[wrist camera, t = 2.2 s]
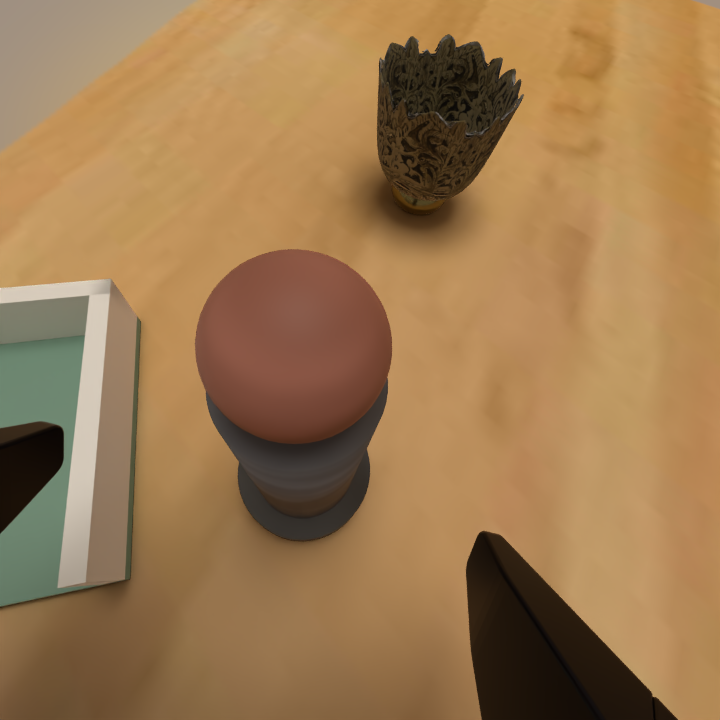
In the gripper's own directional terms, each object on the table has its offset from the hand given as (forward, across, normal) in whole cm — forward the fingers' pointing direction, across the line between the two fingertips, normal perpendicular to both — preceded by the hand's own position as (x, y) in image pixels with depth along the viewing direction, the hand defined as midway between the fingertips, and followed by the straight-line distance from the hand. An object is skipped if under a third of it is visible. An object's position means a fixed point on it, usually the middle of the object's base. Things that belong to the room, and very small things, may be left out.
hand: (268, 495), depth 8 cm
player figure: (+9, 0, +5) cm, 10 cm away
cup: (+22, -2, -8) cm, 24 cm away
